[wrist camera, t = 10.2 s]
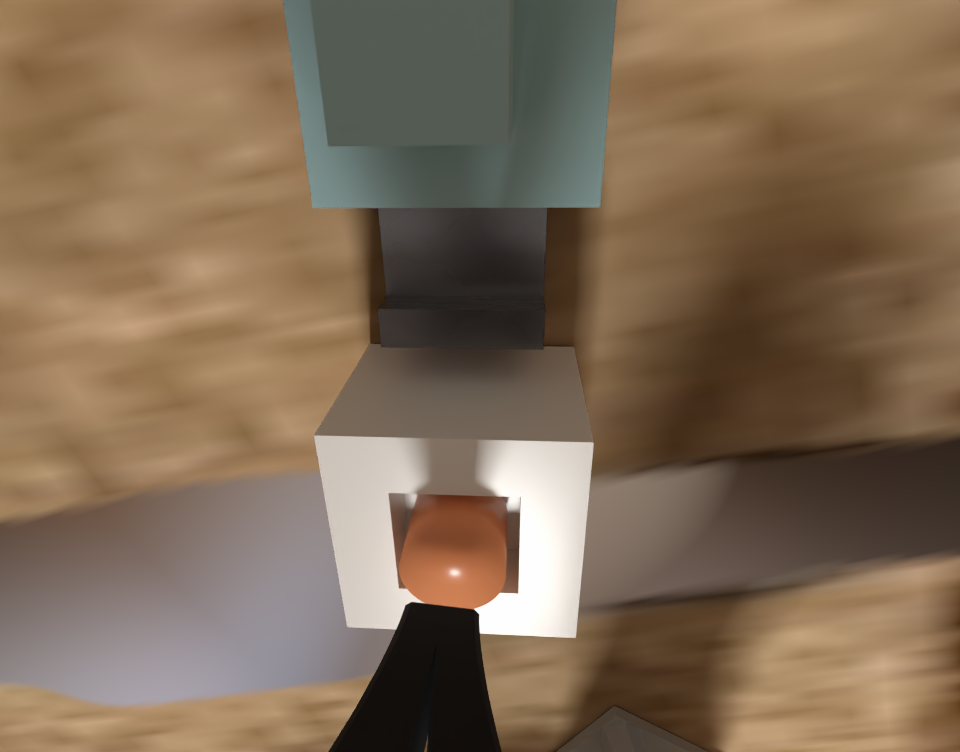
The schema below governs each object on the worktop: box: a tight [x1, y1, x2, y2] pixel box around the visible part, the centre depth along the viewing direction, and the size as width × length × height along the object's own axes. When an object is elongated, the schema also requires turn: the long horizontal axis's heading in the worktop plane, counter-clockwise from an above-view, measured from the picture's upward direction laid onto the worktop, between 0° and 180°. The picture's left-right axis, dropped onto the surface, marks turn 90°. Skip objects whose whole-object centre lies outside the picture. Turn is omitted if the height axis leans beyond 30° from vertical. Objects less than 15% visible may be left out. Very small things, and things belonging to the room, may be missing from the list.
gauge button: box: [399, 494, 508, 609], centre depth 13 cm, size 2×2×2 cm
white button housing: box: [314, 344, 594, 638], centre depth 15 cm, size 6×6×5 cm
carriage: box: [283, 0, 617, 208], centre depth 9 cm, size 6×6×5 cm
